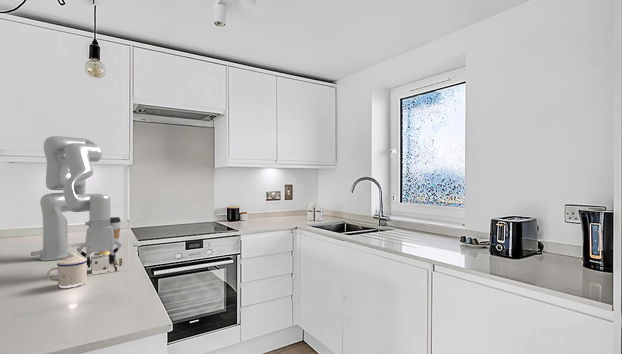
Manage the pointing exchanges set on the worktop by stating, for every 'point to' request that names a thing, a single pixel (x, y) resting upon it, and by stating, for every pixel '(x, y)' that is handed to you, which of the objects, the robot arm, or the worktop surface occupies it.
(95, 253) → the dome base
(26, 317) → the worktop surface
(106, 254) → the dome button
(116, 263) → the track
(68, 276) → the teacup with lid
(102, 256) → the die
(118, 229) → the coffee cup
